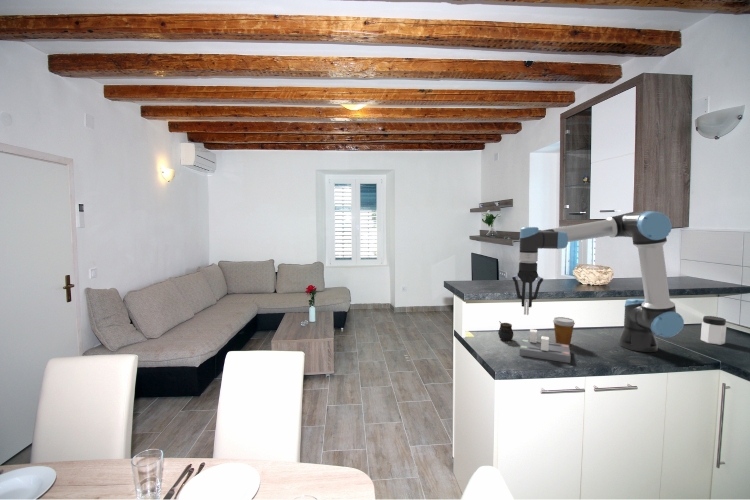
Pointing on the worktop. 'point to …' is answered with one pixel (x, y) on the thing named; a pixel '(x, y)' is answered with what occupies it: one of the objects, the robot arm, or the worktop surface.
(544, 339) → the block
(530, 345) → the panel
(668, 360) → the worktop surface
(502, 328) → the mate gourd
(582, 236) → the robot arm
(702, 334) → the jar
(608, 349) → the worktop surface
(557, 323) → the disposable coffee cup
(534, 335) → the block
